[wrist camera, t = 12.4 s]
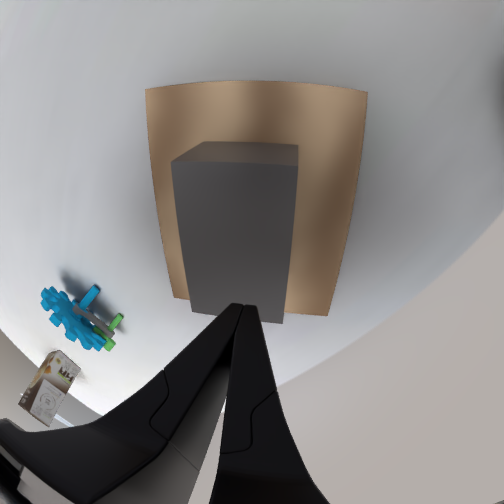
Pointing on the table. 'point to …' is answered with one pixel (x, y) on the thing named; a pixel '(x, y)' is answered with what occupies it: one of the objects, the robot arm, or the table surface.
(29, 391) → the coffee box
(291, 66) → the table surface
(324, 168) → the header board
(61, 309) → the gear
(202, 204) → the block
